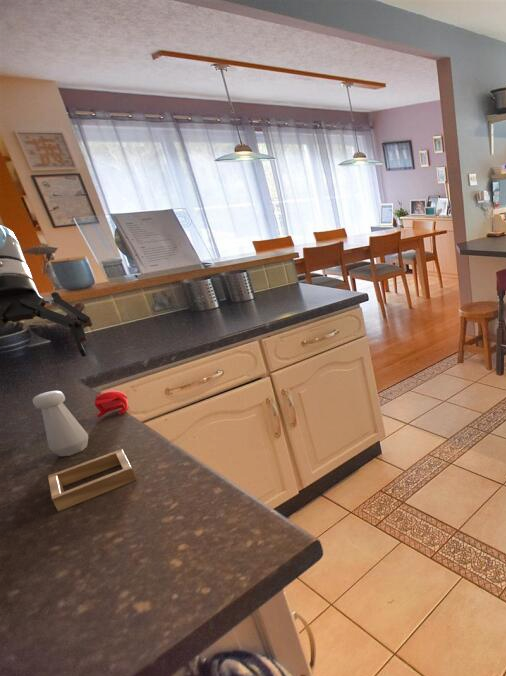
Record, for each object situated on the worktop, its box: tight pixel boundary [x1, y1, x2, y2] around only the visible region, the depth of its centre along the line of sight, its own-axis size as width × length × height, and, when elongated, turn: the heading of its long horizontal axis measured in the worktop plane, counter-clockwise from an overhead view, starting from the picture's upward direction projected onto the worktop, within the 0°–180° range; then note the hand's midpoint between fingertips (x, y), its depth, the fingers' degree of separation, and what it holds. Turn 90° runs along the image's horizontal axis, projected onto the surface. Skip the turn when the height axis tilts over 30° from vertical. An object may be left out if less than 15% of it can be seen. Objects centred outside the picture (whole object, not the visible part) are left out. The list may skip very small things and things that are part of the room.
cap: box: [94, 390, 130, 418], centre depth 103 cm, size 8×6×6 cm
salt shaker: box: [32, 390, 89, 457], centre depth 87 cm, size 6×6×13 cm
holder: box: [47, 448, 138, 513], centre depth 77 cm, size 10×10×2 cm
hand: (38, 363), depth 90 cm, fingers open, 13 cm apart
